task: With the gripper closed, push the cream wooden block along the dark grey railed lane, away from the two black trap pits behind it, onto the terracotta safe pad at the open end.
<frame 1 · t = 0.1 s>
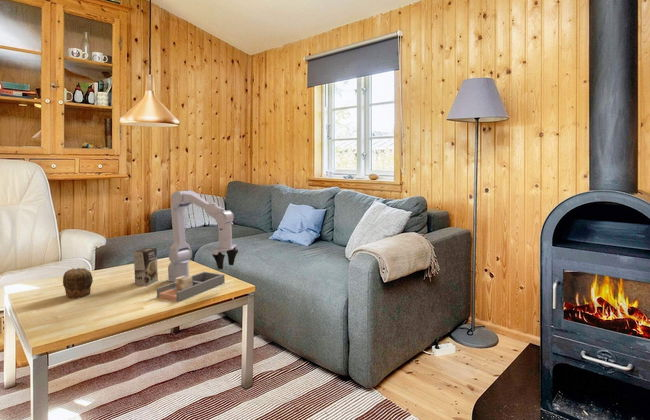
hand: (225, 267, 184), 10 cm above the table, tool pointing down, fingers open, 7 cm apart
cream block: (184, 288, 179), point 2 cm above the table, touching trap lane
dark brown rounded lump: (79, 296, 175), on the table
coffee box: (146, 283, 194), on the table
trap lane: (191, 290, 183), on the table
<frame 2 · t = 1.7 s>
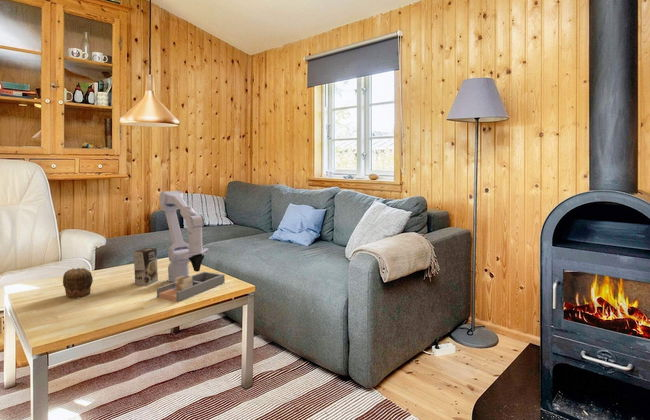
hand: (196, 271, 185), 8 cm above the table, tool pointing down, fingers closed
nothing on the table moved.
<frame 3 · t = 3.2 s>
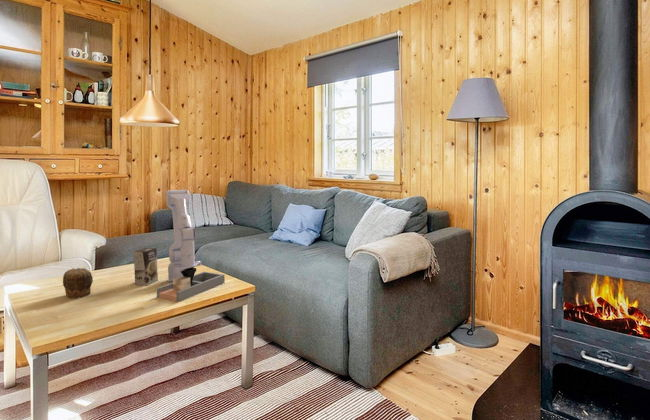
hand: (188, 284, 181), 3 cm above the table, tool pointing down, fingers closed
cream block: (182, 289, 178), point 2 cm above the table, touching gripper, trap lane
everything else where it was.
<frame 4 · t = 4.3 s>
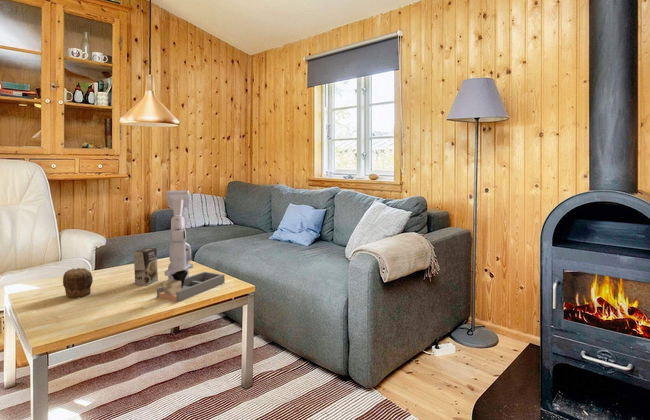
hand: (180, 287, 176), 3 cm above the table, tool pointing down, fingers closed
cream block: (172, 293, 173), point 2 cm above the table, touching gripper, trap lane
everything else where it was.
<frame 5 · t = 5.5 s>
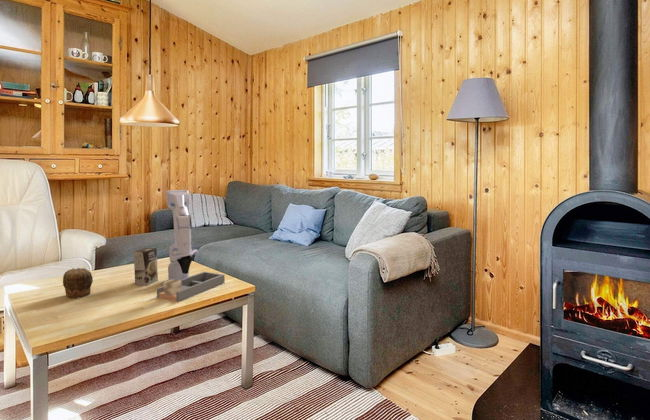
hand: (185, 273, 179), 9 cm above the table, tool pointing down, fingers closed
cream block: (172, 293, 173), point 2 cm above the table, touching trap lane
everything else where it was.
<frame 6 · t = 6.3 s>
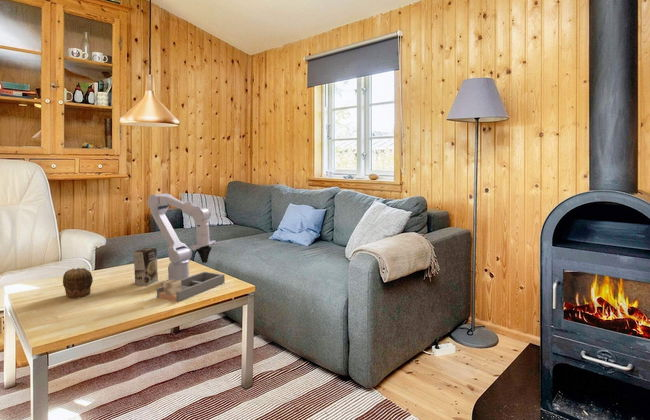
hand: (204, 262, 191), 10 cm above the table, tool pointing down, fingers closed
nothing on the table moved.
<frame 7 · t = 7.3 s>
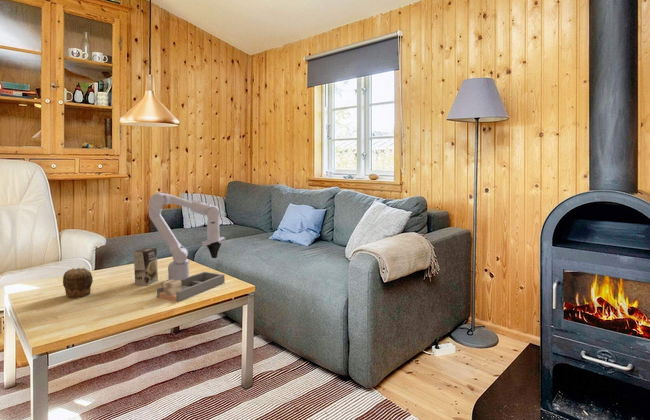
hand: (214, 257, 200), 10 cm above the table, tool pointing down, fingers closed
nothing on the table moved.
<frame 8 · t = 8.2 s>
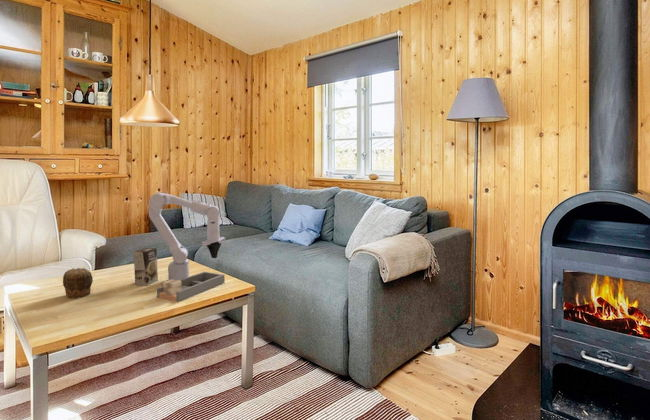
hand: (214, 257, 200), 10 cm above the table, tool pointing down, fingers closed
nothing on the table moved.
at the end: cream block inside the target area on the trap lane (0.1 cm from its centre), point 2.0 cm above the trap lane's base; cream block tilted 0° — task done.
